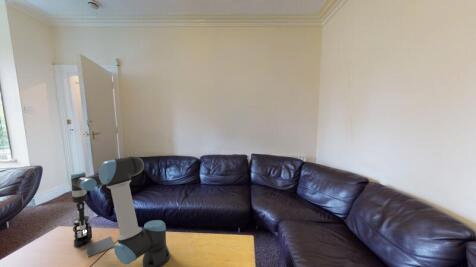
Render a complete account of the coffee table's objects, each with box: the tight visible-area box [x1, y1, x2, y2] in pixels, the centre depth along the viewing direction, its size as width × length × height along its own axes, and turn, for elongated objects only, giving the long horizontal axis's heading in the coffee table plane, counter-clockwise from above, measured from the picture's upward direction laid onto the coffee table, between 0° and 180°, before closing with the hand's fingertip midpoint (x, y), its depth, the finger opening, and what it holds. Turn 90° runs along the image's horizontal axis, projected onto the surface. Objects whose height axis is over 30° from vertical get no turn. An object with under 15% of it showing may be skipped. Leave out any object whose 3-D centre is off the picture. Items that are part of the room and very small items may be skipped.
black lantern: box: [71, 210, 93, 248], centre depth 129 cm, size 12×9×23 cm
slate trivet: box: [85, 236, 116, 258], centre depth 126 cm, size 14×14×1 cm
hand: (81, 225), depth 129 cm, fingers open, 13 cm apart
